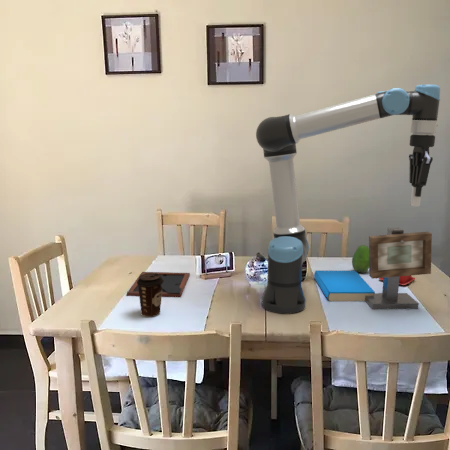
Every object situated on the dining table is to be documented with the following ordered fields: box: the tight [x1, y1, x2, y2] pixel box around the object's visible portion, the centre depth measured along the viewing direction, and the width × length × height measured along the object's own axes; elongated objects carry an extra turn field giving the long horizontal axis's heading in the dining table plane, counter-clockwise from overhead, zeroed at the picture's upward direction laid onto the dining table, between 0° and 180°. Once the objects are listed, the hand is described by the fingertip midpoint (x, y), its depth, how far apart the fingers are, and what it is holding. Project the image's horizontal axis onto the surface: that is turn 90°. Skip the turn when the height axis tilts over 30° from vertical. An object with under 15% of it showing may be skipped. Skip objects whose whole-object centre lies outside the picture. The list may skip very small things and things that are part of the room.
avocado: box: [351, 244, 369, 274], centre depth 202 cm, size 8×8×12 cm
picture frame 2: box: [368, 231, 433, 280], centre depth 160 cm, size 20×4×14 cm, turn 92°
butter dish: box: [378, 275, 416, 286], centre depth 192 cm, size 12×12×8 cm
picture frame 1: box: [126, 271, 191, 298], centre depth 185 cm, size 20×2×25 cm
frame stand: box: [364, 227, 420, 310], centre depth 165 cm, size 16×10×27 cm, turn 92°
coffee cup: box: [137, 273, 163, 318], centre depth 157 cm, size 9×8×13 cm
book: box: [313, 270, 376, 302], centre depth 182 cm, size 17×4×25 cm
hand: (415, 205), depth 159 cm, fingers closed
